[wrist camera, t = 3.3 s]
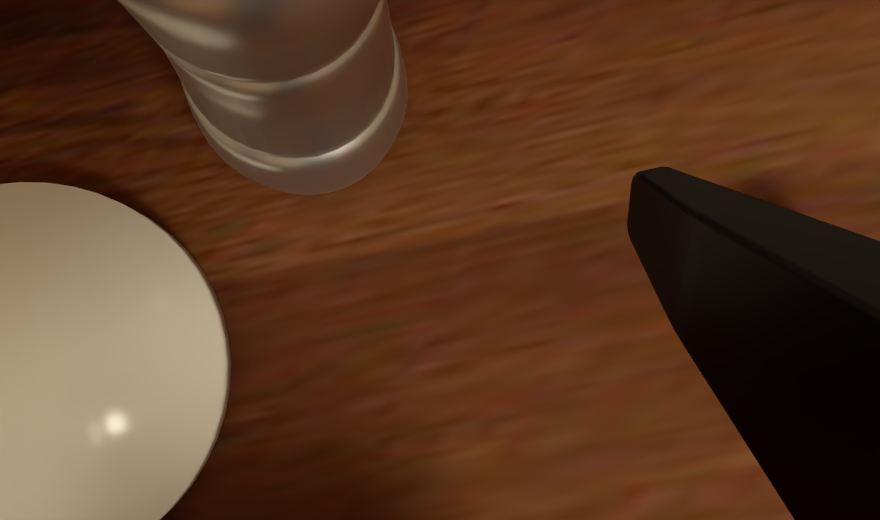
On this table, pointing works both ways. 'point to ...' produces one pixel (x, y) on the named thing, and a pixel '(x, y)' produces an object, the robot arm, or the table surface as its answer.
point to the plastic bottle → (287, 84)
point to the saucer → (102, 359)
